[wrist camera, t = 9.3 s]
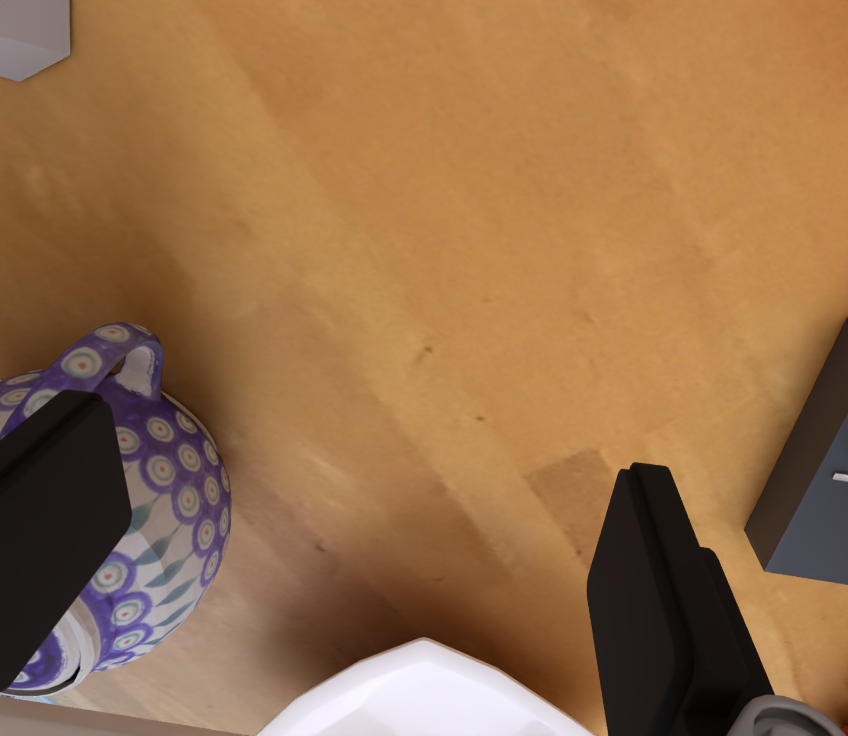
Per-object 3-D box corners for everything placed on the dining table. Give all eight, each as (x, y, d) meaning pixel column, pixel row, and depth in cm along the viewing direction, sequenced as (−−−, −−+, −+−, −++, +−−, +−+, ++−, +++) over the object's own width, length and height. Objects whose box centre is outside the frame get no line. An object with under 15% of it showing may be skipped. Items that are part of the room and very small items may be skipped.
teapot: (59, 194, 29) (-307, 326, 16) (343, 356, 31) (228, 586, 18) (-28, 519, 41) (-281, 750, 27) (184, 619, 43) (44, 874, 30)
